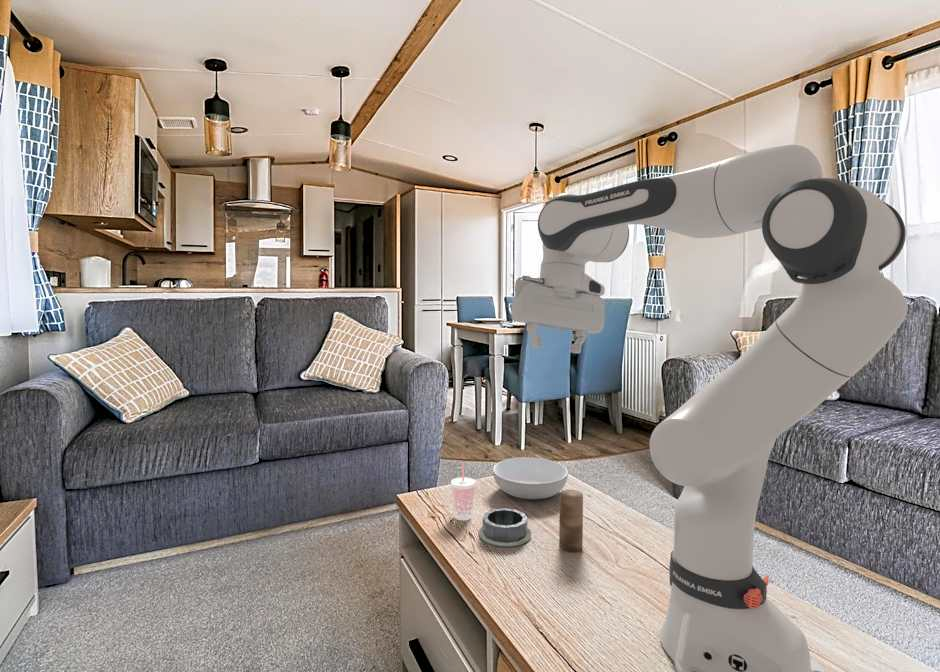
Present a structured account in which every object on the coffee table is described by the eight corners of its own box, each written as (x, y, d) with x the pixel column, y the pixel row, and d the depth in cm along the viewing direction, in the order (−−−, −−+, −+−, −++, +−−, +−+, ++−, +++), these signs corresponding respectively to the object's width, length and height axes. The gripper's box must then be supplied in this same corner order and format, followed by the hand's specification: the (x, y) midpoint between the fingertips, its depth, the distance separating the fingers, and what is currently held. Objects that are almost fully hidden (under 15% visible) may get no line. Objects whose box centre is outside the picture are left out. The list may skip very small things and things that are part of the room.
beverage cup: (480, 518, 128) (480, 463, 127) (459, 523, 125) (458, 467, 123) (467, 509, 133) (467, 456, 132) (446, 514, 130) (446, 460, 129)
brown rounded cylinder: (586, 546, 113) (587, 493, 112) (573, 554, 109) (574, 500, 108) (567, 539, 116) (568, 487, 116) (554, 546, 113) (555, 493, 112)
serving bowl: (483, 502, 137) (483, 477, 137) (503, 476, 157) (503, 454, 157) (561, 512, 131) (562, 486, 130) (572, 484, 151) (572, 461, 150)
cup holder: (541, 534, 119) (541, 517, 118) (507, 553, 110) (507, 534, 110) (503, 518, 127) (503, 502, 127) (468, 534, 119) (468, 517, 119)
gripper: (524, 270, 97) (518, 343, 95) (611, 288, 105) (606, 355, 103) (508, 275, 102) (502, 344, 101) (592, 292, 111) (587, 356, 109)
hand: (555, 350), depth 102 cm, fingers open, 8 cm apart
